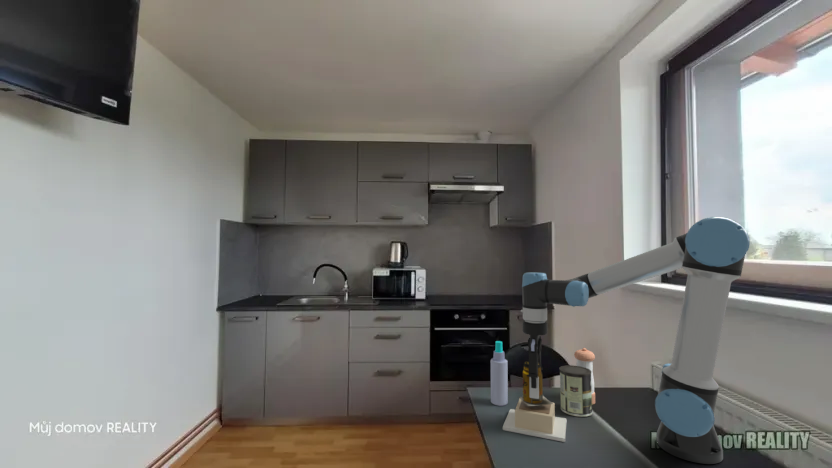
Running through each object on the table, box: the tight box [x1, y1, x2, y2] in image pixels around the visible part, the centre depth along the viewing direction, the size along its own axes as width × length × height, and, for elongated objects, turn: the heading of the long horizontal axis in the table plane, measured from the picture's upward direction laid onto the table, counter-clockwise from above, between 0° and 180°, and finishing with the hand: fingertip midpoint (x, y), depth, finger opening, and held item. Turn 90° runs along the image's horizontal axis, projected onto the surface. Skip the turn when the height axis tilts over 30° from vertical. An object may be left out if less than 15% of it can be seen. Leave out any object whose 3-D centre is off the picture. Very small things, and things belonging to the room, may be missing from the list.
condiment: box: [518, 360, 554, 406], centre depth 120 cm, size 7×8×12 cm
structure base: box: [502, 398, 567, 443], centre depth 119 cm, size 18×14×6 cm
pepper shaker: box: [573, 347, 596, 405], centre depth 139 cm, size 7×7×19 cm
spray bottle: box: [490, 340, 509, 407], centre depth 137 cm, size 6×6×22 cm
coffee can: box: [558, 364, 593, 418], centre depth 131 cm, size 10×10×14 cm
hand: (535, 393), depth 120 cm, fingers closed on condiment, 6 cm apart
